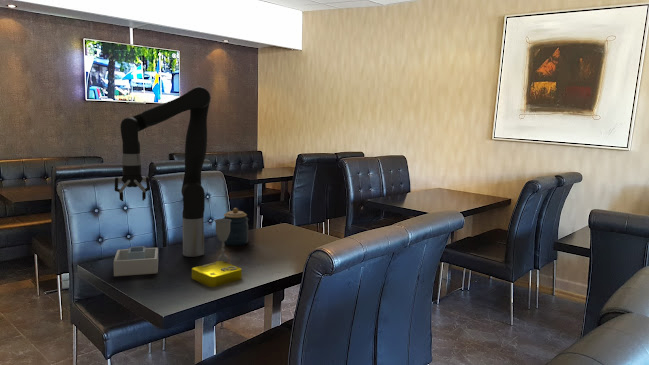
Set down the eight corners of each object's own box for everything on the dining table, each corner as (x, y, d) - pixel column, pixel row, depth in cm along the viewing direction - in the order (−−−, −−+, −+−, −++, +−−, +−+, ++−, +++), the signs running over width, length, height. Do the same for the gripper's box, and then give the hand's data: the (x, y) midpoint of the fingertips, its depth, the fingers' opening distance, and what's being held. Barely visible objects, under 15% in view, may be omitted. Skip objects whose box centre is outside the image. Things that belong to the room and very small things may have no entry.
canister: (217, 244, 231) (217, 209, 228) (229, 237, 243) (230, 204, 241) (241, 247, 227) (241, 211, 225) (252, 240, 239) (253, 206, 237)
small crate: (145, 262, 197) (145, 246, 196) (144, 268, 189) (144, 251, 188) (130, 263, 195) (129, 247, 194) (128, 269, 187) (128, 252, 186)
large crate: (158, 260, 202) (158, 247, 201) (157, 273, 187) (157, 258, 186) (118, 263, 197) (117, 249, 196) (113, 276, 182) (113, 261, 181)
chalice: (214, 263, 202) (214, 222, 199) (214, 258, 208) (214, 218, 206) (232, 262, 204) (232, 222, 201) (230, 257, 210) (231, 218, 208)
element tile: (221, 270, 195) (221, 259, 194) (243, 279, 185) (244, 267, 184) (189, 278, 184) (189, 266, 183) (211, 288, 174) (211, 276, 173)
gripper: (149, 162, 208) (150, 198, 211) (114, 163, 204) (115, 199, 206) (149, 164, 201) (150, 201, 204) (113, 165, 197) (114, 202, 199)
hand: (132, 200), depth 205 cm, fingers open, 8 cm apart
